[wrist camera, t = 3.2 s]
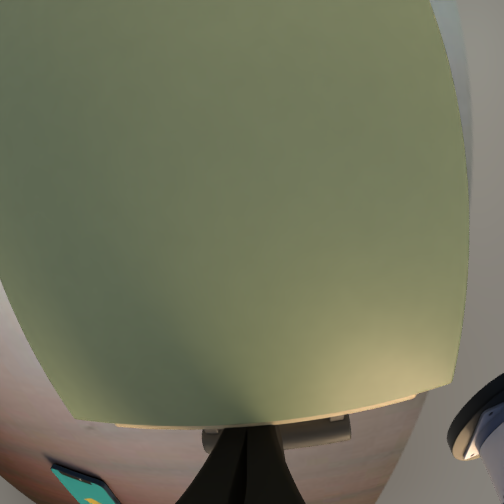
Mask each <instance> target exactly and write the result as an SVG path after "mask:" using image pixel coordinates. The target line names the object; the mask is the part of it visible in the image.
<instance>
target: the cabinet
mask: <svg viewBox="0 0 504 504" xmlns="http://www.w3.org/2000/svg"><path fill="white" fill-rule="evenodd" d="M468 260H469V198H468V180H467V167H466V157H465V148H464V140H463V132H462V126H461V119H460V113H459V108H458V102H457V97H456V92H455V87H454V83H453V78H452V74H451V70H450V66H449V62H448V58H447V54H446V51H445V47H444V43H443V40H442V37H441V33H440V30H439V27H438V24H437V21H436V18H435V15H434V12H433V9H432V7H431V4H430V1H429V0H0V279H1V282H2V285H3V287H4V290H5V292H6V295H7V297H8V299H9V302H10V304H11V306H12V309H13V311H14V313H15V315H16V317H17V320H18V322H19V324H20V326H21V328H22V330H23V332H24V334H25V336H26V338H27V340H28V342H29V344H30V346H31V348H32V350H33V352H34V354H35V355H36V357H37V359H38V361H39V363H40V365H41V366H42V368H43V370H44V372H45V373H46V375H47V377H48V378H49V380H50V382H51V383H52V385H53V387H54V388H55V390H56V391H57V393H58V395H59V396H60V398H61V399H62V401H63V402H64V404H65V405H66V407H67V408H68V410H69V411H70V413H71V414H72V416H73V417H74V418H75V419H78V420H86V421H95V422H105V423H116V424H130V425H149V426H217V425H236V424H250V423H262V422H272V421H281V420H290V419H297V418H305V417H312V416H318V415H324V414H330V413H336V412H341V411H346V410H352V409H356V408H361V407H366V406H370V405H375V404H379V403H383V402H387V401H391V400H395V399H399V398H403V397H407V396H410V395H414V394H418V393H421V392H424V391H428V390H431V389H434V388H437V387H441V386H444V385H447V384H450V383H451V382H452V381H453V377H454V372H455V367H456V362H457V356H458V351H459V345H460V339H461V333H462V325H463V318H464V310H465V301H466V290H467V277H468Z"/></svg>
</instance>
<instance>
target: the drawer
mask: <svg viewBox="0 0 504 504" xmlns="http://www.w3.org/2000/svg"><path fill="white" fill-rule="evenodd" d="M415 397H416V394H414V395H410V396H407V397H403V398H399V399H395V400H391V401H387V402H383V403H379V404H375V405H370V406H366V407H361V408H356V409H352V410H346V411H341V412H336V413H330V414H324V415H318V416H312V417H305V418H297V419H290V420H281V421H272V422H262V423H250V424H236V425H217V426H149V425H130V424H116V423H115V425H116V426H118V427H128V428H145V429H179V430H193V429H203V431H202V443H203V447H204V450H205V451H206V453H208V454H210V453H211V451H212V450H213V448H214V446H215V444H216V442H217V440H218V439H219V437H220V435H221V433H222V431H223V429H224V428H233V427H248V426H259V425H270V424H271V425H279V429H280V433H281V436H282V440H283V449H284V450H286V449H295V448H303V447H311V446H317V445H324V444H330V443H336V442H342V441H347V440H350V439H351V426H350V419H349V414H350V413H355V412H360V411H364V410H369V409H373V408H378V407H382V406H386V405H390V404H394V403H398V402H402V401H406V400H409V399H413V398H415Z"/></svg>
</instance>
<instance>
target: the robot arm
mask: <svg viewBox="0 0 504 504" xmlns="http://www.w3.org/2000/svg"><path fill="white" fill-rule="evenodd" d="M478 454H479V455H480V457H481V459H482V461H483V463H484V465H485V467H486V470H487V472H488V474H489V476H490V478H491V481H492V483H493V485H494V488H495V490H496V492H497V495H498V497H499V500H500V502H501V504H504V402H502V403H500V404H498V405H496V406H494V407H491V408H489V409H487V410H485V411H484V412H483V413H482V414H481V416H480V419H479V421H478V424H477V426H476V429H475V431H474V434H473V436H472V438H471V441H470V443H469V445H468V447H467V449H466V452H465V454H464V456H463V458H464V459H469V458H471V457H473V456H476V455H478ZM175 504H305V502H304V500H303V498H302V496H301V494H300V492H299V491H298V489H297V487H296V484H295V482H294V480H293V478H292V476H291V474H290V471H289V469H288V467H287V464H286V462H285V456H284V449H283V440H282V436H281V433H280V429H279V425H271V424H270V425H259V426H248V427H233V428H224V429H223V431H222V433H221V435H220V437H219V439H218V440H217V442H216V444H215V446H214V448H213V450H212V451H211V453H210V455H209V457H208V458H207V460H206V462H205V463H204V465H203V467H202V468H201V470H200V471H199V473H198V474H197V476H196V477H195V479H194V480H193V481H192V483H191V484H190V486H189V487H188V488H187V490H186V491H185V492H184V494H183V495H182V496H181V497H180V499H179V500H178V501H177V502H176V503H175Z"/></svg>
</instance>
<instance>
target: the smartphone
mask: <svg viewBox="0 0 504 504" xmlns="http://www.w3.org/2000/svg"><path fill="white" fill-rule="evenodd" d="M51 470H52V471H53V473H54V474H55V475H56V476H57V478H58V479H59V480H60V481H61V482H62V484H63V485H64V486H65V487H66V488H67V489H68V491H69V492H70V493H71V494H72V495H73V496H74V497H75V498H76V500H77V501H78V502H79V503H80V504H120V502H119V501H118V500H117V498H116V497H115V496H114V494H113V493H112V492H111V490H110V489H109V488H108V486H107V485H106V484H105V483H104V482H102V481H100V480H98V479H95V478H92V477H89V476H86V475H83V474H80V473H77V472H74V471H72V470H69V469H66V468H63V467H61V466H58V465H56V464H53V465H52V467H51Z"/></svg>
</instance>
